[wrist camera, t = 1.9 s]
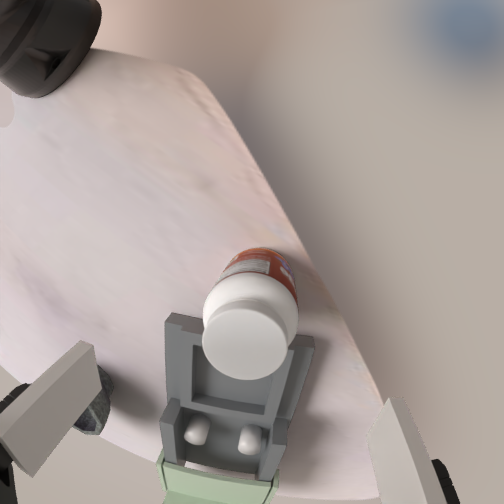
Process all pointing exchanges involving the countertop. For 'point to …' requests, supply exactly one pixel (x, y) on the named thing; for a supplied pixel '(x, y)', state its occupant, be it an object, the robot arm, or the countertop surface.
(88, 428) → the mortar and pestle
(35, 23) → the robot arm
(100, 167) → the countertop surface
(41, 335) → the countertop surface
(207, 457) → the housing base
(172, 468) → the cover
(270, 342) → the pill bottle
